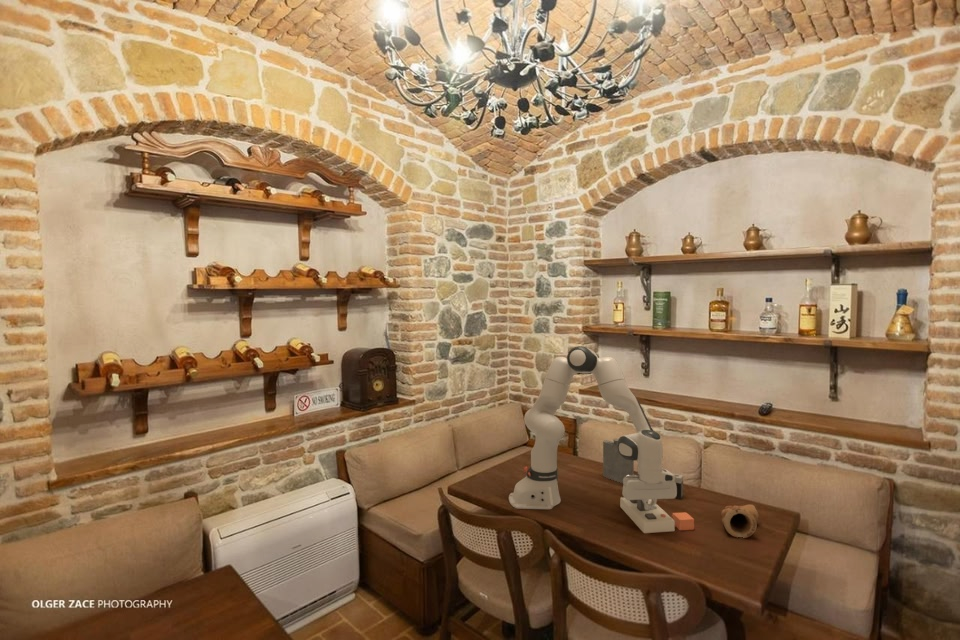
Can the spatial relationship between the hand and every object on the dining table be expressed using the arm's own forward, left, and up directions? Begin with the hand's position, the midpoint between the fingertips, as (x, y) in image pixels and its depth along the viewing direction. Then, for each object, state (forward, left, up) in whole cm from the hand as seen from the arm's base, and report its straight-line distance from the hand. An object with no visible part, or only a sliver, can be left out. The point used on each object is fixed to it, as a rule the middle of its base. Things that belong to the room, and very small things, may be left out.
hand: (649, 509), depth 179 cm
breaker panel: (+2, +8, -7) cm, 11 cm away
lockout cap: (+13, 0, -7) cm, 15 cm away
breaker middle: (+1, +8, -4) cm, 8 cm away
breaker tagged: (+1, +1, -7) cm, 7 cm away
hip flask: (+6, +46, -8) cm, 47 cm away
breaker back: (+1, +15, -4) cm, 15 cm away
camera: (+23, +29, -8) cm, 38 cm away
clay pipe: (+34, -6, -8) cm, 35 cm away
